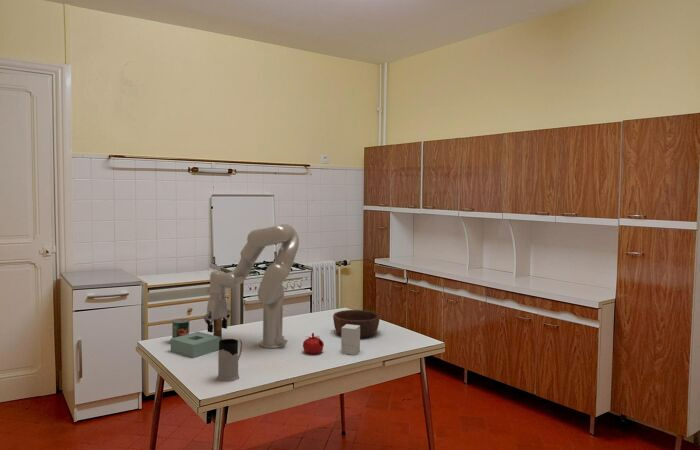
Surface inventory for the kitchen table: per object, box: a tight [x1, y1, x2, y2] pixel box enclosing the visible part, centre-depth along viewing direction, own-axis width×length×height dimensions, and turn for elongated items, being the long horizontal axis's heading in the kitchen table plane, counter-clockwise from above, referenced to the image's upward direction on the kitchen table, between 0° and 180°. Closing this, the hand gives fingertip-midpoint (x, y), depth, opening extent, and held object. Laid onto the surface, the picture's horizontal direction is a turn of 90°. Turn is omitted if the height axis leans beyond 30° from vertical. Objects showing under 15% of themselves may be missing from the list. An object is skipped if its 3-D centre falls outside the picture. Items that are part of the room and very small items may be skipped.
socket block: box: [170, 331, 221, 359], centre depth 251 cm, size 16×16×6 cm
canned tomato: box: [171, 318, 190, 338], centre depth 263 cm, size 8×8×11 cm
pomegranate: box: [302, 332, 325, 355], centre depth 252 cm, size 10×10×9 cm
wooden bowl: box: [332, 309, 381, 339], centre depth 286 cm, size 25×25×10 cm
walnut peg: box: [212, 318, 223, 340], centre depth 267 cm, size 4×4×12 cm
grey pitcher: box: [216, 338, 243, 383], centre depth 218 cm, size 9×14×15 cm, turn 159°
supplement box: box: [340, 324, 361, 356], centre depth 253 cm, size 7×7×13 cm
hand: (217, 330), depth 267 cm, fingers open, 8 cm apart
